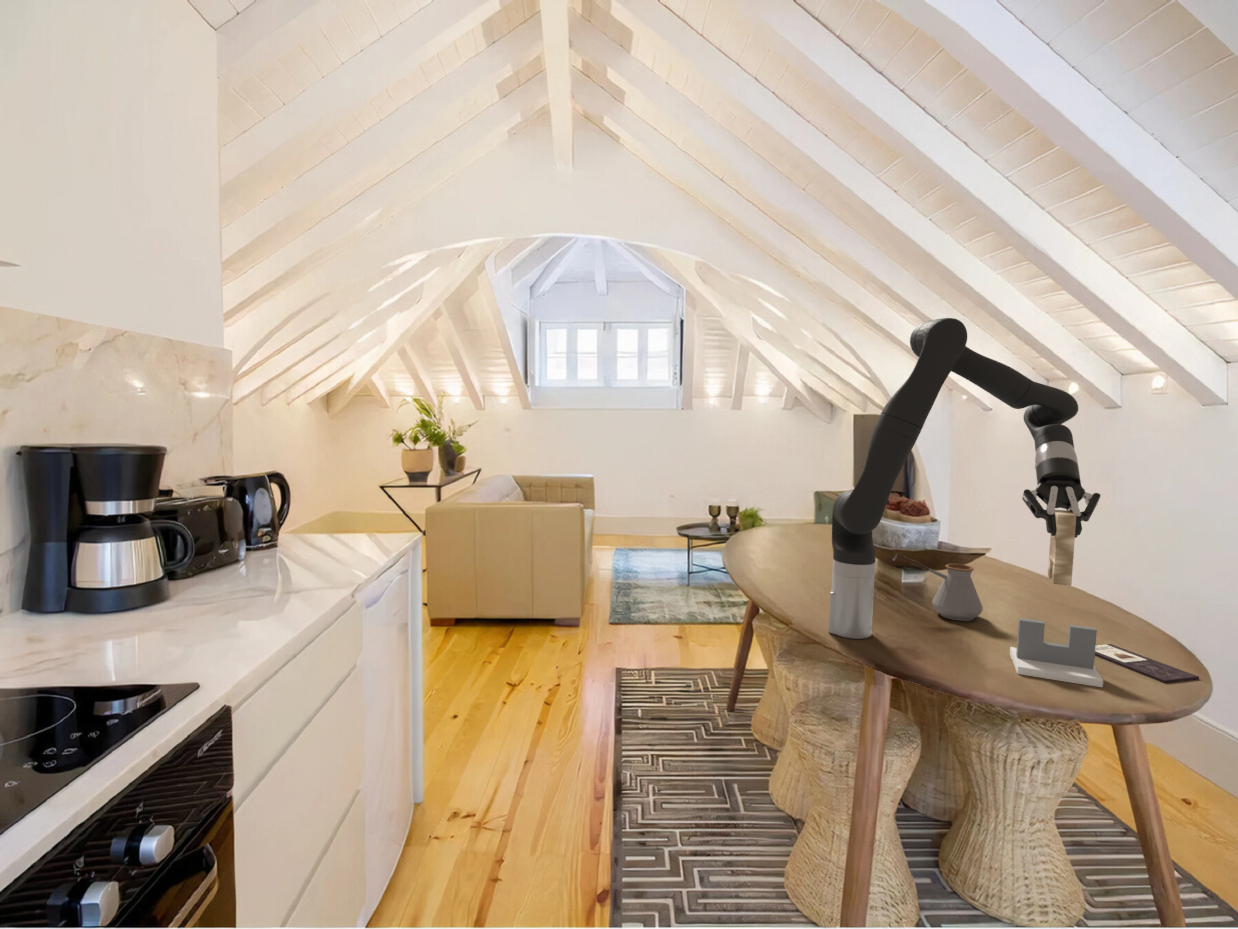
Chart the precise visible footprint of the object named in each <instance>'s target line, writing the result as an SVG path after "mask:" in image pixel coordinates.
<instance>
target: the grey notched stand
mask: <svg viewBox="0 0 1238 929" xmlns="http://www.w3.org/2000/svg"><path fill="white" fill-rule="evenodd" d="M1045 624H1046V623H1045V621H1044V620H1043V621H1042V620H1035V619H1031V618H1023V617H1020V618H1018V627H1017V638H1016V639H1017V642H1016V647H1014V646H1009V647H1010V648H1009V656H1010V658H1011V660H1013V661H1012V664H1013V666H1014V668H1015V671H1016V674H1017V675H1023V676H1029V677H1035V678H1042V679H1047V680H1054V681H1060V682H1066V683H1073V684H1079V685H1084V686H1085V685H1086V686H1090V687H1091V686H1092V687H1098V688H1103V687H1104V679H1103V677H1102V676H1101V674H1100V673H1099V672H1098V669H1096V667H1095V657H1096V656H1095V646H1096V642H1097V635H1098V633H1097V631H1098V629H1096V627H1093V626H1092V627H1090V626H1083V625H1076V624H1075V625H1074V624H1068V633H1067V644H1064V643H1063V644H1061V643H1055V642H1054V643H1053V642H1048V641H1047V642H1046V641H1044V638H1045V637H1044V635H1045Z"/></svg>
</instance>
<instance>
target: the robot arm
mask: <svg viewBox="0 0 1238 929" xmlns="http://www.w3.org/2000/svg"><path fill="white" fill-rule="evenodd" d="M967 341H968V331H967V328H966V326H965V324H964V323H963V322H962V321H961V320H959V319H957V318H954V317H953V318H952V317H943V318H938V319H937V318H936V319H931V320H928V321H924V322H922V323H920V324H918V325H916V326H915V328H914V329H913V330H912V331H911V334H910V337H909V343H910V344H909V345H910V348H911V351H912V352H913V354H914V355H916V357H918V359H917V360H916V364H915V366H914V368H913V370H912V371H911V373H910V375H908V377H907V379H906V381H904V383H903V384H902V385H901V386H900V387H899V389H897V390H896V392H895V393H894V394H893V395H892V396H891V397H890V399H889V400H888V402H887V403H885V405H884V407H883V409H882V411H881V412H880V415H879V417H878V419H877V422H876V423H875V426H874V428H873V430H872V433H871V435H870V439H869V443H868V449H867V453H866V454H867V455H866V460H865V464H864V467H863V470H862V472H861V475H860V476H859V478H858V480H857V482H856V484H855V486H854V488H853V489H851V490H846V491H843V492H842V493H840V494H839V495H838V496H837V497H836V499H835V501H834V503H833V506H832V515H831V516H832V517H831V545H832V553H833V555H832V572H831V573H832V574H831V575H832V577H831V591H830V593H829V614H828V615H829V616H828V633H829V634H833V635H836V636H839V637H843V638H848V639H855V640H856V639H857V640H858V639H862V640H863V639H868V638H870V637H871V636H872V632H873V631H872V629H873V611H874V592H875V591H874V590H875V577H876V576H875V573H876V553H877V552H876V550H875V546H874V540H873V531H874V530H875V529H876V528H877V527H878V526H879V524H880V522H881V521H882V519H883V515H884V512H885V510H886V508H887V504H888V501H889V498H890V496H891V493H892V490H893V487H894V485H895V483H896V481H897V478H898V477H899V475H900V473H901V471H902V470H903V468H904V465H905V464H906V462H907V459H908V457H909V455H910V453H911V451H912V450H913V447H915V444H916V442H917V440H918V438H919V436H920V434H921V432H922V429H924V428H923V427H924V425H925V423H926V421H927V418H928V416H929V414H930V413H931V411H932V408H933V406H934V404H935V402H936V399H937V398H938V395H939V393H940V391H941V389H942V387H943V385H944V383H945V381H946V380H947V378H948V377H949V375H950V373H951V372H952V373H953V374H956V375H958V376H959V377H961V378H964V379H965V380H967V381H969V382H970V383H972V384H974V385H976V386H978V387H979V388H980V389H982V390H983V391H985V392H987V393H988V394H990V395H991V396H993V397H995V398H996V399H998V400H999V401H1000V402H1002V403H1004V404H1005V405H1007V406H1009V407H1010V408H1012V409H1015V410H1021V409H1025V408H1026V409H1025V410H1024V413H1023V421H1024V423H1025V425H1026V427H1027V429H1028V431H1029V432H1030V434H1031V436H1032V439H1033V441H1034V447H1035V448H1034V449H1035V457H1034V458H1035V459H1034V464H1035V465H1034V469H1035V472H1036V473H1035V474H1036V481H1037V482H1036V484H1037V486H1036V488H1035V489H1033V490H1030V489H1024V491H1023V494H1022V498H1021V499H1022V501H1023V502H1024V504H1025V505H1026V507H1027V508H1028V509H1029V510H1030V512H1031V513H1032V515H1033V517H1035V518H1036V519H1043V520H1045V525H1046V532H1047V534H1051V536H1055V535H1056V531H1057V529H1056V520H1055V516H1054V511H1055V510H1056V509H1059V508H1060V509H1063V510H1065V511H1071V512H1072V513H1074V514H1075V515H1076V527H1075V538H1078V536H1080V535H1081V533H1082V530H1083V527H1082V522H1089V521H1090V518H1091V517H1092V515H1093V513H1094V511H1095V509H1096V508H1097V506H1098V504H1099V502H1100V498H1101V493H1099V492H1093V493H1089V492H1086V490H1085V489H1084V487H1083V486H1082V481H1081V476H1080V469H1079V462H1078V456H1077V452H1076V450H1075V445H1074V438H1073V433H1072V431H1071V429H1070V428H1069V427H1068V426H1067V425H1063V424H1064V423H1066V422H1068V421H1070V420H1071V419H1073V418H1074V417H1076V415H1077V414H1078V412H1079V404H1078V401H1077V399H1076V398H1075V397H1073V396H1072V395H1071V394H1070V393H1068V392H1067V391H1066V390H1063V389H1059V388H1057V387H1053V386H1049V385H1046V384H1043V383H1040V382H1036V381H1034V380H1032V379H1030V378H1029V377H1027V375H1024V374H1022V373H1021V372H1020V371H1018V370H1016V369H1014V368H1012V367H1011V366H1009V365H1007V364H1005V363H1002V362H1000V361H998V360H995V359H993V358H990V357H988V356H985V355H983V354H980V353H979V352H976V351H975V350H972V349H971V348H969V347H968V346H967ZM1038 498H1039V499H1040V500H1041V502H1043V503H1044V504H1045V505H1046V508H1045V509H1044V507H1043V506H1042V504H1041V503H1040V502H1039V500H1038ZM1082 499H1084V502H1085V504H1086V507H1085V509H1084V510H1083V511H1080V508H1079V502H1080V501H1081V500H1082Z"/></svg>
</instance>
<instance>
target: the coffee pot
mask: <svg viewBox="0 0 1238 929" xmlns="http://www.w3.org/2000/svg"><path fill="white" fill-rule="evenodd" d="M897 558H900V559H902V560H903V561H906V562H907V563H909V564H911V565H912V566H915V567H918V568H920V569H922V570H924V571H927V572H930V573H932V574H934V575H936V576H938V577H940V578H942V579H944V580H943V581H942V583H941V585H940V587H939V588H938V589H937V592H936V593H935V595H934V597H933V599H932V602H931V603H932V606H933V608H934V609H935V611H936V612H938V613H939V615H940V616H941V617H943V618H946V619H949V620H953V621H958V622H960V621H963V622H970V621H973V620H974V618H977V617H978V616H980V615H981V613H982V612H983V611H984V610H983V605H982V602H981V599H980V597H979V594H978V592H977V589H976V587H975V585H974V582H973V579H972V577H971V574H972V572H973V571H974V570H975V568H974V567H973V566H970V565H967V564H960V563H948V564H945V568H946V569H947V574H944V573H941V572H939V571H937V570H935V569H932V568H930V567H928V566H927V565H924V564H923V563H920V562H919V561H918V560H915V559H912V558H908V557H907V556H905V555H902V554H900V553H897V552H896V553H895V555H894V556H893V558H892V561H895V560H896V559H897Z"/></svg>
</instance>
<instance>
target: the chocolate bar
mask: <svg viewBox="0 0 1238 929" xmlns="http://www.w3.org/2000/svg"><path fill="white" fill-rule="evenodd" d="M1095 657H1097V658H1100V659H1102V660H1105V661H1106V662H1110V663H1112V664H1114V665H1117V666H1120V667H1122V668H1125V669H1128V670H1130V671H1133V672H1135V673H1136V674H1140V675H1143V676H1144V677H1148V678H1150V679H1153V680H1154V681H1157V682H1159V683H1162V684H1170V683H1178V682H1186V681H1187V682H1188V681H1195V680H1199V679H1200V676H1198V675H1195V674H1193V673H1190V672H1187V671H1185V670H1182V669H1180V668H1176V667H1174V666H1171V665H1168V664H1166V663H1163V662H1160V661H1158V660H1155V659H1152V658H1150V657H1147V656H1144V655H1141V654H1138V653H1136V652H1133V651H1131V650H1128V649H1125V648H1122V647H1120V646H1117V645H1114V644H1112V643H1108V644H1098V645H1096V646H1095Z"/></svg>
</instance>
